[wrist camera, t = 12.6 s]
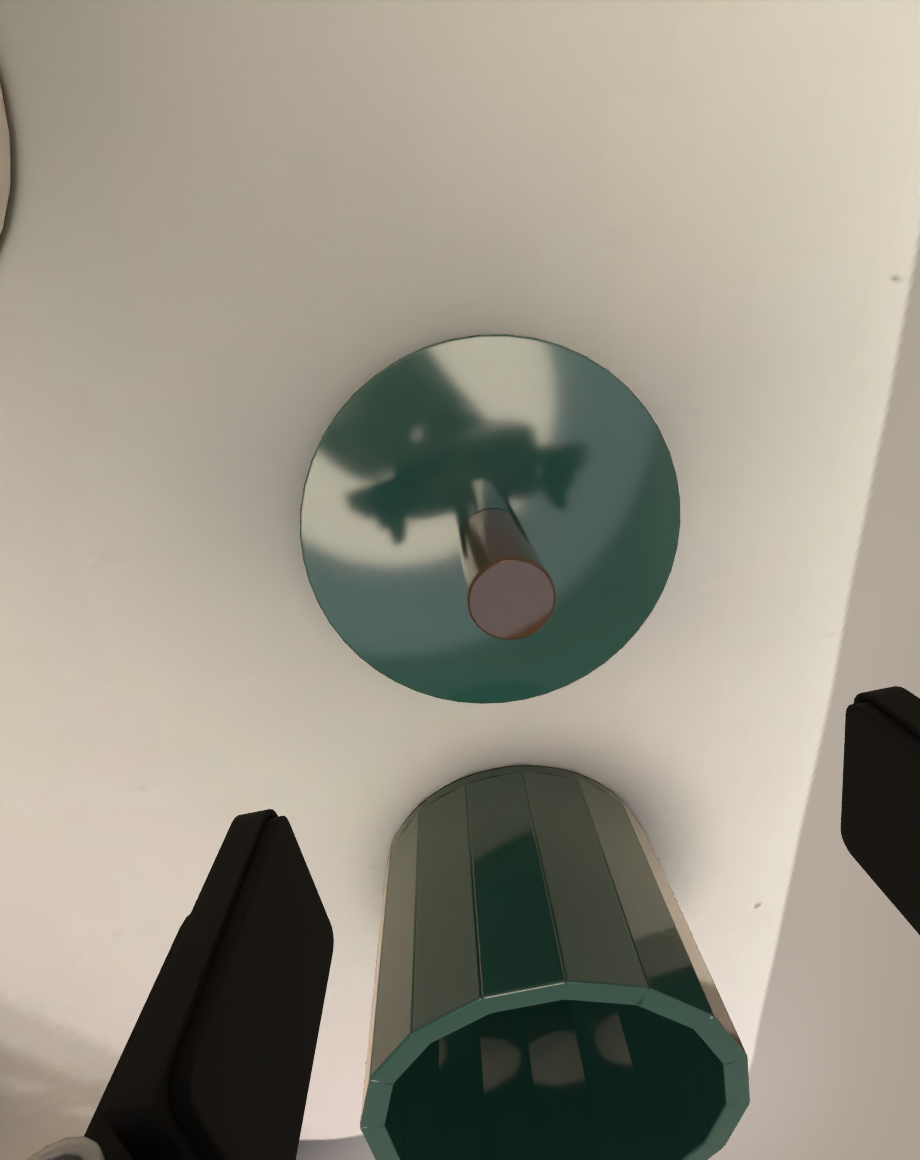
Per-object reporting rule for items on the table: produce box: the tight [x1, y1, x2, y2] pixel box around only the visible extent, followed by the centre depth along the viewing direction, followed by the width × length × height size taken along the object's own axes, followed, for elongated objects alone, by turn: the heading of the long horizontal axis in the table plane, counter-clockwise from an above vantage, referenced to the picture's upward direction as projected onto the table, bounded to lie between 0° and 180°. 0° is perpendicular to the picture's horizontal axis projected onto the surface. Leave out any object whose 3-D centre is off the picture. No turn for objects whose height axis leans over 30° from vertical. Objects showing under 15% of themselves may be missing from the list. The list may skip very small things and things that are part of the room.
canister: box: [360, 766, 750, 1160], centre depth 23 cm, size 13×13×10 cm
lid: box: [300, 334, 680, 703], centre depth 18 cm, size 14×14×7 cm
